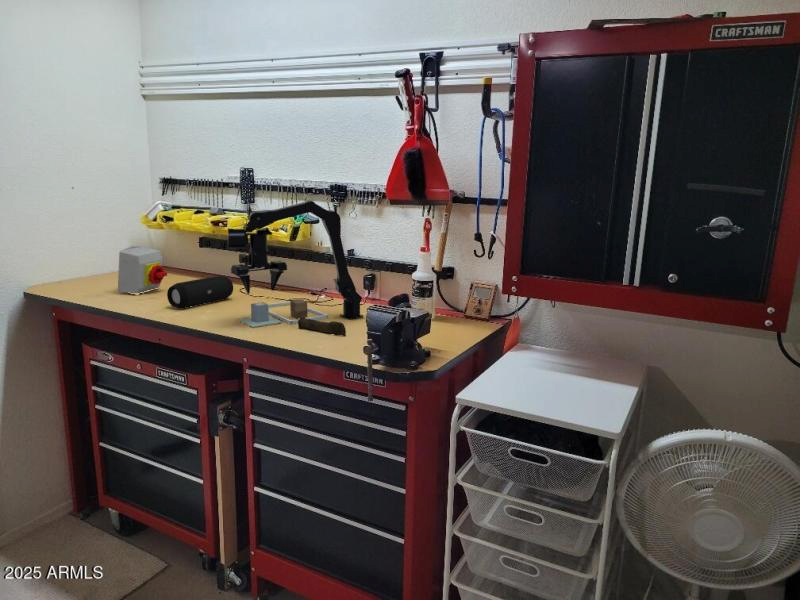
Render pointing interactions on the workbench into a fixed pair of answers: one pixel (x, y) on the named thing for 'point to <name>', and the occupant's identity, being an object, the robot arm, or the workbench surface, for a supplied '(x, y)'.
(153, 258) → the electrical switch box
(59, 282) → the workbench surface
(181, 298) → the portable speaker
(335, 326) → the hand tool
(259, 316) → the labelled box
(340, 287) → the robot arm
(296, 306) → the plain box
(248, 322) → the mat
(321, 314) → the flat rectangular frame
